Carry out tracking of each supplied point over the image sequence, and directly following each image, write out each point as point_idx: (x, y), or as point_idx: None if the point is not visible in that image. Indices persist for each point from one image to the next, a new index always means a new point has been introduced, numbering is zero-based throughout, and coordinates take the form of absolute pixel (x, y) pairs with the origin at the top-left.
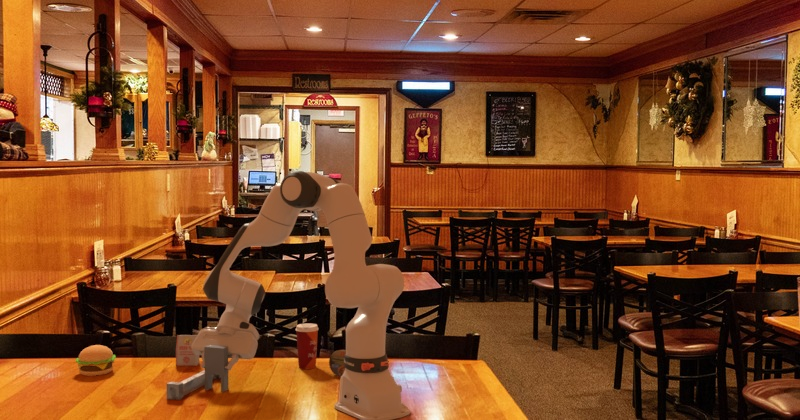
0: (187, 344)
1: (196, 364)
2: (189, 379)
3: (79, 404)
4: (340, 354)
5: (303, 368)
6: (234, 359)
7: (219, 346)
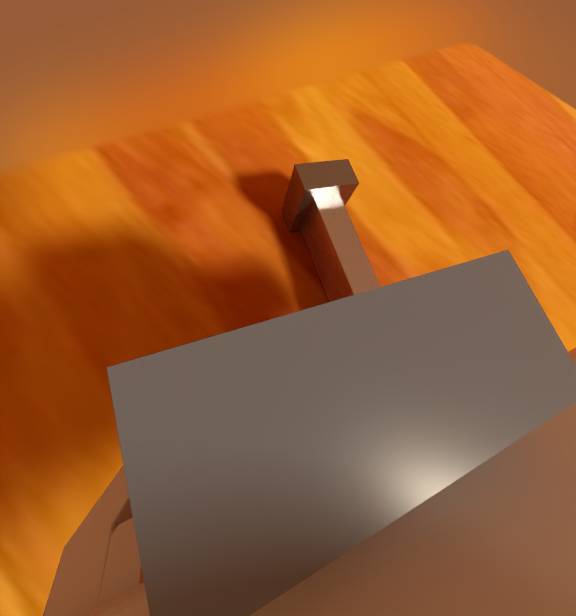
0: None
1: None
2: (360, 281)
3: (439, 103)
4: None
5: None
6: (95, 519)
7: (358, 444)
